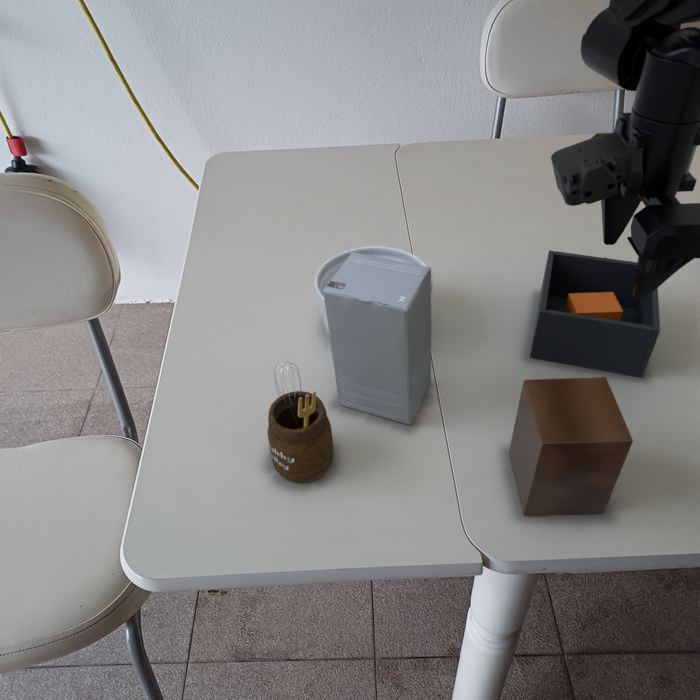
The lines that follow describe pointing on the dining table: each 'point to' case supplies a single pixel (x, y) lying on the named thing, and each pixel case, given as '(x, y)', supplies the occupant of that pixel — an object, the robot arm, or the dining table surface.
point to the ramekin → (337, 261)
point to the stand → (567, 446)
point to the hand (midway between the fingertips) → (623, 269)
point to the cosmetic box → (380, 335)
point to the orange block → (594, 305)
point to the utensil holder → (299, 435)
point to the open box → (592, 332)
